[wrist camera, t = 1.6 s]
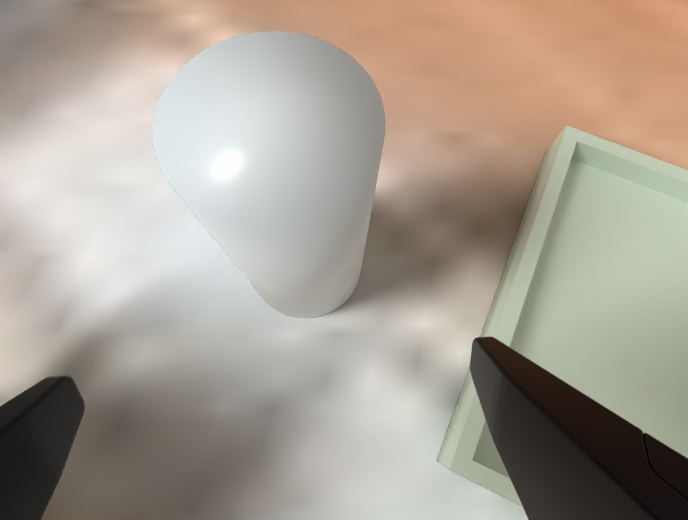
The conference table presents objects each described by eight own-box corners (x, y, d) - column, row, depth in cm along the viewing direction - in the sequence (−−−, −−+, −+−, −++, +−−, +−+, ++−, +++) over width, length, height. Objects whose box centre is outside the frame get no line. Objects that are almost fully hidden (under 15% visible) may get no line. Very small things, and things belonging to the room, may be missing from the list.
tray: (677, 580, 19) (726, 607, 16) (436, 460, 20) (449, 469, 18) (737, 222, 24) (779, 204, 22) (546, 149, 26) (567, 125, 24)
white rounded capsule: (384, 263, 23) (433, 121, 11) (304, 342, 22) (258, 278, 10) (308, 193, 25) (277, -2, 13) (228, 263, 23) (104, 119, 11)
